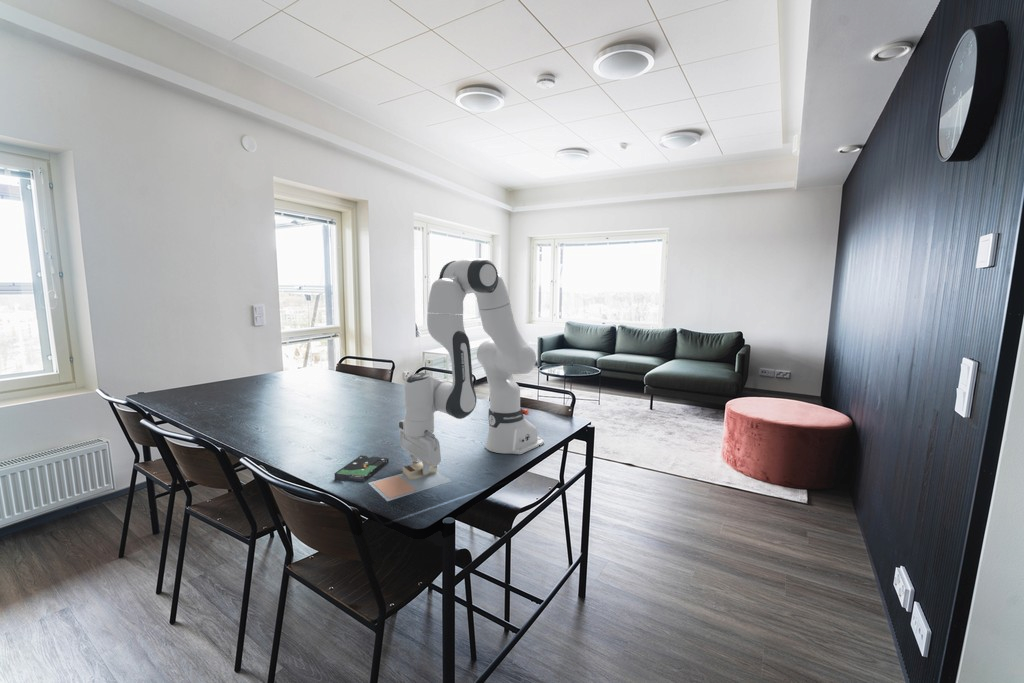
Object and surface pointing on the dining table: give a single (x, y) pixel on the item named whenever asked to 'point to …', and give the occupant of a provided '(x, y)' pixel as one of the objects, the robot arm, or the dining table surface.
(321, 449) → the dining table surface
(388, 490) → the mat
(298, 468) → the dining table surface
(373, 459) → the disk drive
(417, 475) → the cream curved ramp
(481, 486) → the dining table surface
